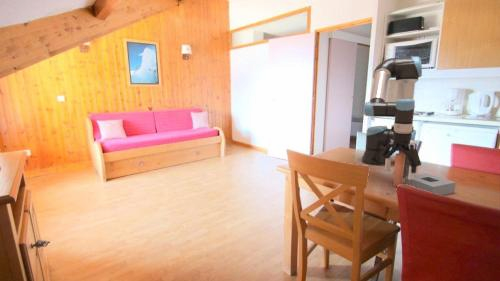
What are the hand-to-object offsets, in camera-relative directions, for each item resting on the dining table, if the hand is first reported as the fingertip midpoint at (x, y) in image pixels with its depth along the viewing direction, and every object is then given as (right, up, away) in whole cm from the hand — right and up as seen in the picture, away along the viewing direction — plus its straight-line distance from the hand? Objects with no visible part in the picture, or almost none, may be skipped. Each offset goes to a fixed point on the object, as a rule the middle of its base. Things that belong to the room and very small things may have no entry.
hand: (398, 174), depth 126 cm
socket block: (+12, -6, -5) cm, 14 cm away
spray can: (+12, -3, +15) cm, 20 cm away
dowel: (0, -6, +1) cm, 6 cm away
